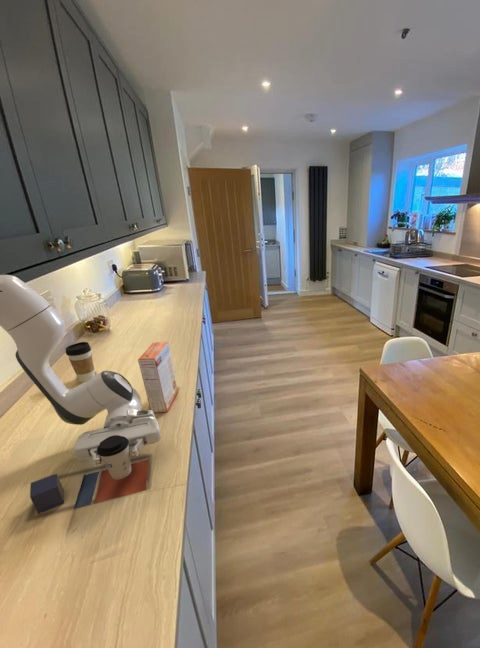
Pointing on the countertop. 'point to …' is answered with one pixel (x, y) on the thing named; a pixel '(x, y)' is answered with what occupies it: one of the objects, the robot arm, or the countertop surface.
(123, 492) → the sorting board
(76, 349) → the coffee cup
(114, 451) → the coffee cup
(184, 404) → the countertop surface
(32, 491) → the navy block
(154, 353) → the cracker box
